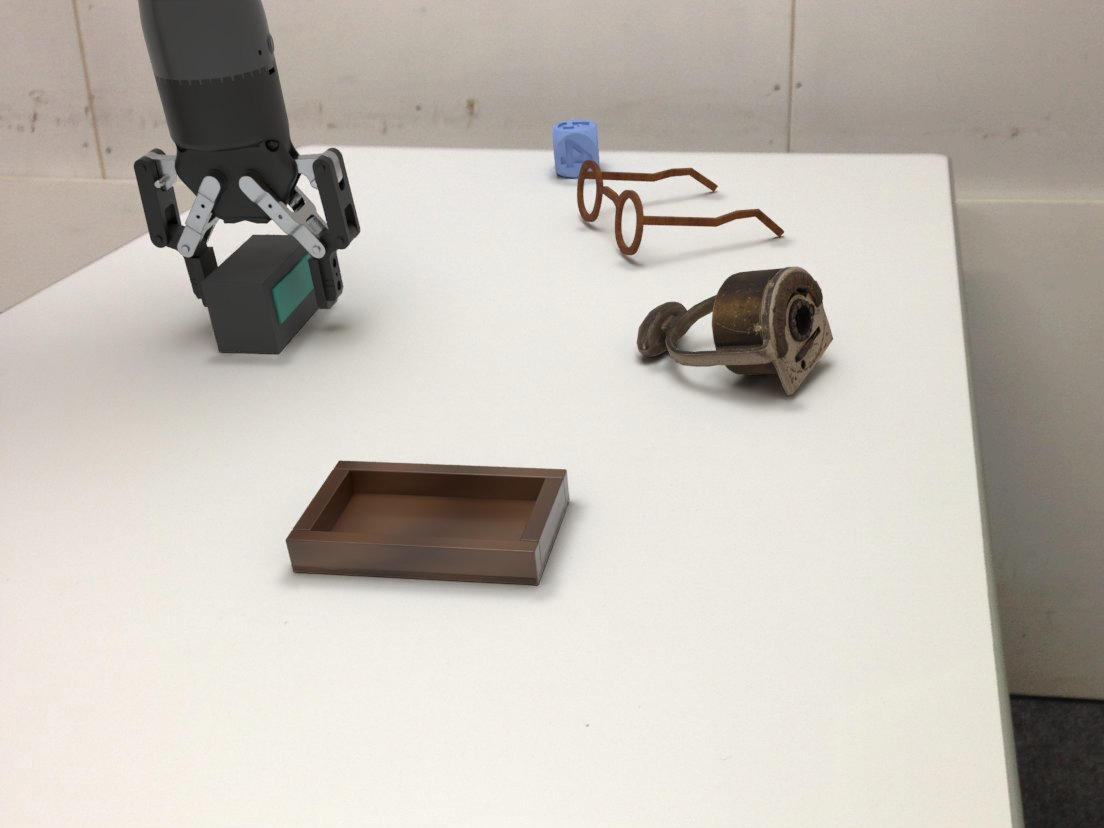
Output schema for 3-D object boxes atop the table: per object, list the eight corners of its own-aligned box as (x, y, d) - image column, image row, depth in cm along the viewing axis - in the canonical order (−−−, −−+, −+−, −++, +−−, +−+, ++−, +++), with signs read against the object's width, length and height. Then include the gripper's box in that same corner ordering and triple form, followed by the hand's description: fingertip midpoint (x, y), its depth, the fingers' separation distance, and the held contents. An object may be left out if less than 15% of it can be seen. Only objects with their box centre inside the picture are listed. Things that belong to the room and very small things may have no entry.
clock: (281, 353, 88) (264, 283, 85) (218, 352, 88) (200, 282, 85) (326, 301, 95) (312, 234, 92) (267, 300, 95) (252, 234, 92)
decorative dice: (600, 176, 115) (597, 130, 113) (555, 179, 115) (552, 133, 113) (599, 163, 118) (596, 117, 116) (556, 165, 118) (552, 120, 116)
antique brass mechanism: (731, 343, 73) (861, 264, 76) (602, 261, 81) (725, 192, 84) (744, 439, 78) (865, 362, 81) (622, 354, 86) (736, 285, 89)
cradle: (292, 572, 66) (284, 539, 65) (345, 490, 72) (338, 459, 71) (538, 585, 64) (534, 552, 63) (570, 500, 71) (567, 468, 69)
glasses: (574, 216, 107) (570, 155, 104) (715, 190, 111) (715, 130, 108) (634, 268, 97) (631, 202, 94) (787, 237, 101) (788, 173, 98)
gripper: (80, 76, 79) (154, 324, 89) (298, 73, 77) (350, 328, 86) (136, 46, 85) (200, 282, 94) (341, 42, 82) (384, 284, 92)
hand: (272, 304), depth 90 cm, fingers open, 8 cm apart
